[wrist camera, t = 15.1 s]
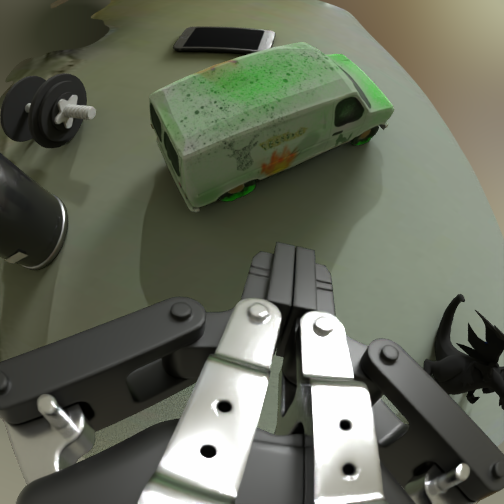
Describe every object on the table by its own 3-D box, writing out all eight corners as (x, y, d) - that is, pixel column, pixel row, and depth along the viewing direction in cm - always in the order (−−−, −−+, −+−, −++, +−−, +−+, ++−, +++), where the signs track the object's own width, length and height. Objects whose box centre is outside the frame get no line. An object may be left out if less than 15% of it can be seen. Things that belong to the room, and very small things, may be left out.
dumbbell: (128, 108, 32) (101, 55, 23) (88, 171, 30) (46, 124, 20) (39, 101, 34) (13, 66, 24) (7, 148, 32) (-26, 117, 22)
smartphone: (187, 29, 37) (186, 25, 36) (276, 33, 36) (276, 29, 35) (171, 52, 35) (170, 48, 34) (269, 58, 34) (269, 53, 34)
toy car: (384, 137, 31) (416, 84, 21) (196, 224, 28) (170, 175, 19) (334, 81, 33) (350, 25, 24) (159, 148, 30) (131, 89, 21)
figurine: (438, 355, 30) (512, 344, 23) (424, 446, 22) (511, 438, 15) (417, 272, 24) (520, 249, 17) (404, 398, 16) (547, 378, 9)
